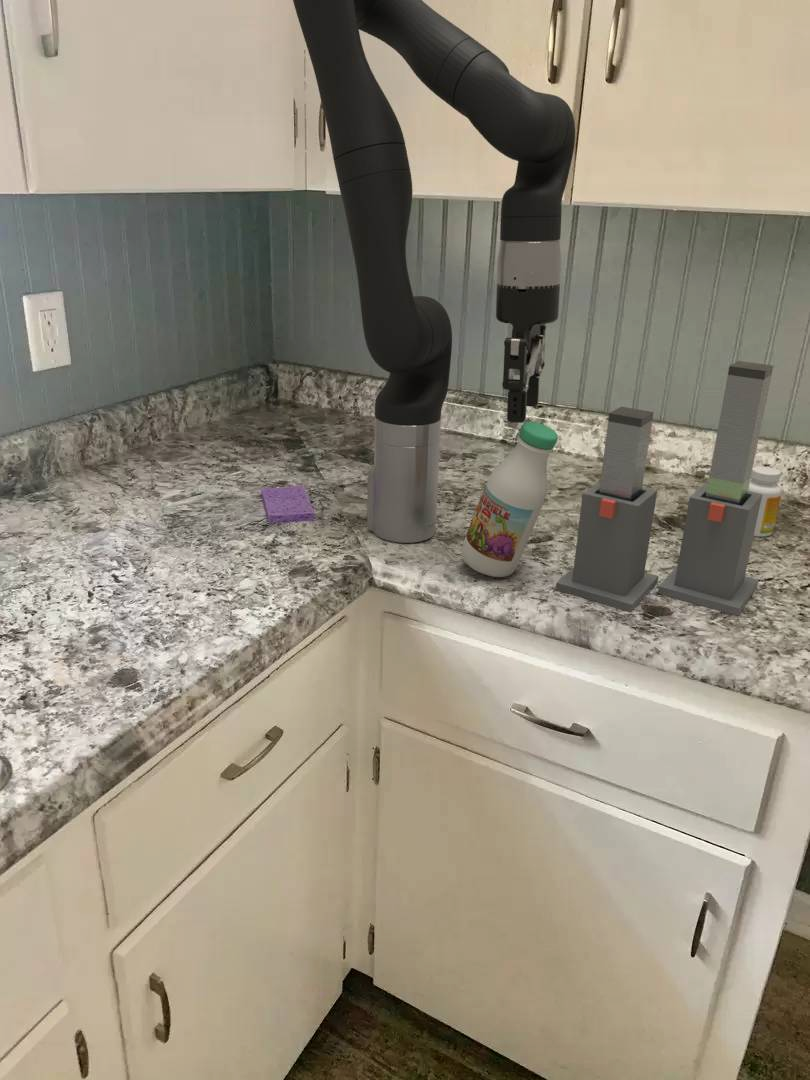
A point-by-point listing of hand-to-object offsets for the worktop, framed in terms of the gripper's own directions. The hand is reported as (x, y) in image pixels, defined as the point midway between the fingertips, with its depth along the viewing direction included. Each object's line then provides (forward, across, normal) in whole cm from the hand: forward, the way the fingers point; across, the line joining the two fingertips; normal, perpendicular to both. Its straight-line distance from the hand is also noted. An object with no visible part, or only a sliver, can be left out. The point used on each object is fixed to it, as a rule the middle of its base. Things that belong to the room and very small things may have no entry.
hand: (523, 413), depth 106 cm
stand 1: (+21, +3, +12) cm, 25 cm away
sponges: (+20, -7, -38) cm, 43 cm away
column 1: (+20, +3, +12) cm, 24 cm away
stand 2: (+22, -1, +25) cm, 33 cm away
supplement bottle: (+22, -25, +31) cm, 46 cm away
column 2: (+15, -1, +25) cm, 29 cm away
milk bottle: (+20, +4, -3) cm, 20 cm away
